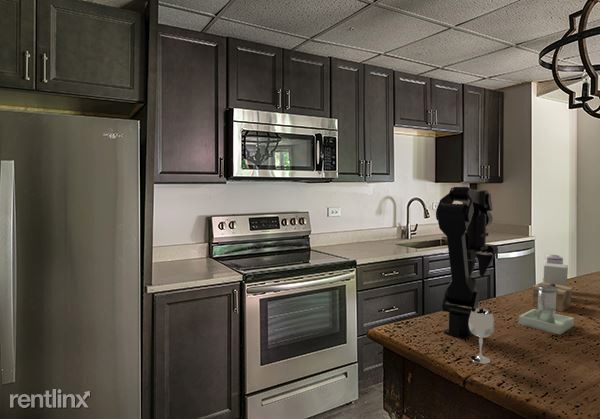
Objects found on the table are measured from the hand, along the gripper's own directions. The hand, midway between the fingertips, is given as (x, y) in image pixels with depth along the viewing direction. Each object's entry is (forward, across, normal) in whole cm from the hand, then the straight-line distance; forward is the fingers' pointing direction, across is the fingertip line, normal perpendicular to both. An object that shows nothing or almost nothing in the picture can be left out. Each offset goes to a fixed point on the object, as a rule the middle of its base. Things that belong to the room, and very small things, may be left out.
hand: (474, 278), depth 125 cm
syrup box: (+13, -56, +4) cm, 58 cm away
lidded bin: (+13, -34, +11) cm, 38 cm away
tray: (+13, -11, +17) cm, 24 cm away
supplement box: (+13, -46, +8) cm, 49 cm away
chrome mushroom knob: (+12, -11, +17) cm, 24 cm away
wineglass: (+13, +28, +16) cm, 35 cm away
